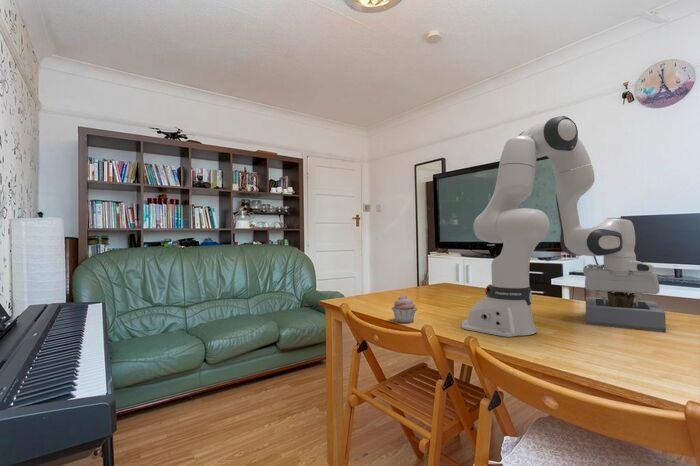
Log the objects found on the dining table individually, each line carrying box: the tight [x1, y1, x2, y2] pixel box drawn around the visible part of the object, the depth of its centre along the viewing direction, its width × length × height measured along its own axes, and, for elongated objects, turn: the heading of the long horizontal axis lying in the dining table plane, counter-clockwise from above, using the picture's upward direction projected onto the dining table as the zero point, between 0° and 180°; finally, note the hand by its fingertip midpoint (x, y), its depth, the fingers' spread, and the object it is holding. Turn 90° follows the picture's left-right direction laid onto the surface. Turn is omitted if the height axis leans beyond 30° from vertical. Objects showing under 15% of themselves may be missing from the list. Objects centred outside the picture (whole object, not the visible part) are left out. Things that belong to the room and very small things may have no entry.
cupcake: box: [391, 293, 418, 324], centre depth 127 cm, size 9×9×10 cm
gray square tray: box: [585, 296, 667, 333], centre depth 119 cm, size 20×20×6 cm
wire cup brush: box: [606, 291, 636, 308], centre depth 119 cm, size 8×7×8 cm
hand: (620, 305), depth 119 cm, fingers closed on wire cup brush, 6 cm apart
